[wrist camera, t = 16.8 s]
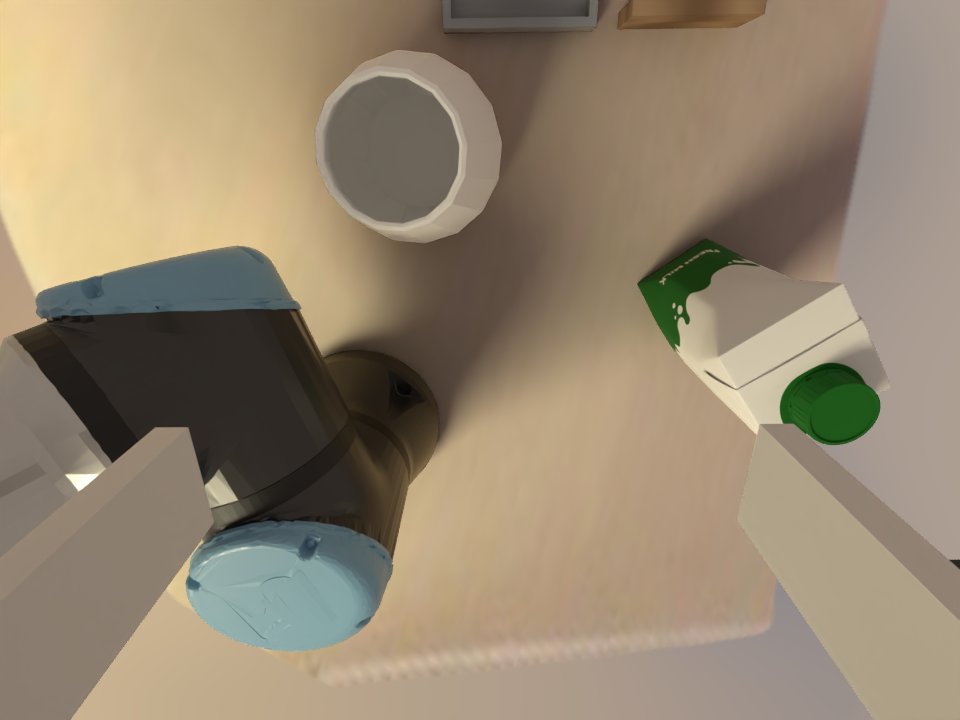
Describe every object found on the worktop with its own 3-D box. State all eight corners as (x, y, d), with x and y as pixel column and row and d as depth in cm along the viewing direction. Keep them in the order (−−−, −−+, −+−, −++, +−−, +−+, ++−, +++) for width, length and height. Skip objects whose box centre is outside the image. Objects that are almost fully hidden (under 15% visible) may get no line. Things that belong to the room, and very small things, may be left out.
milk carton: (669, 354, 48) (785, 481, 29) (622, 280, 45) (718, 369, 27) (754, 303, 46) (936, 404, 27) (710, 221, 43) (880, 273, 25)
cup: (305, 117, 40) (222, 101, 27) (449, 22, 38) (431, -45, 25) (394, 262, 45) (359, 307, 32) (528, 187, 42) (548, 202, 29)
